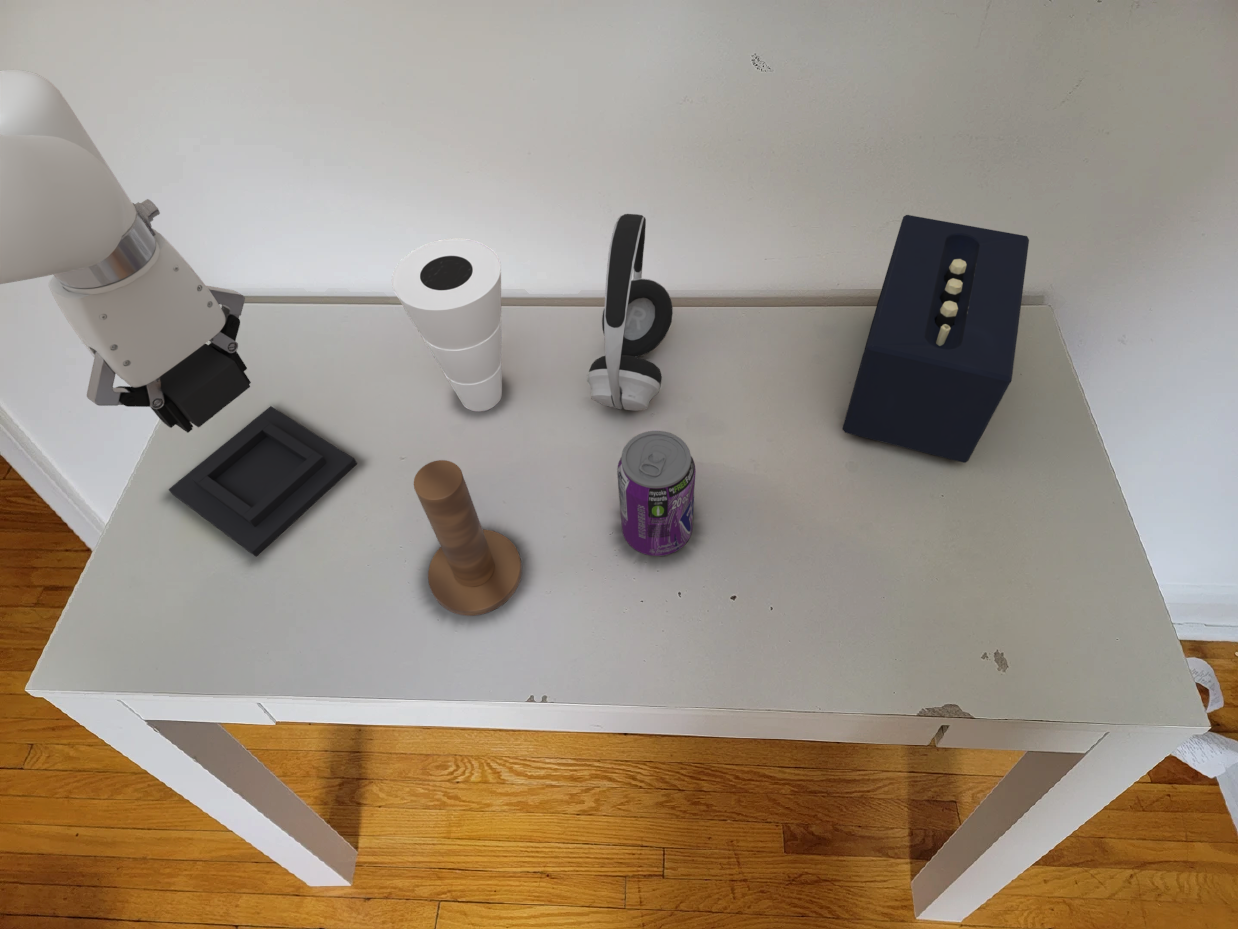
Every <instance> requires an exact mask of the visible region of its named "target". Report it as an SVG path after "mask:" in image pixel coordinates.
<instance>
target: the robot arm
mask: <svg viewBox="0 0 1238 929" xmlns="http://www.w3.org/2000/svg"><path fill="white" fill-rule="evenodd" d="M160 214H161V212H160V210H159V208H158V206H156V204H155V203H154V202H153V201H152V200H150V199H149V198H146V199H145V200H143V201H142V202H139V201H138V202H136V203H134V202H132V200H131V198H130V197H129V196H128V194H127V192H126V191H125V189H124V188H123V186H122V185H121V183H120V181H119V180H118V178H117V177H116V175H115V173H114V172H113V170H112V168H110V166H109V165H108V163H107V162H106V160H105V158H104V157H103V155H102V153H101V152H100V150H99V149H98V147H97V146H96V144H95V143H94V141H93V140H92V138H91V137H90V135H89V133H88V132H87V130H86V128H85V127H84V126H83V124H82V122H81V121H80V119H79V118H78V116H77V114H76V113H75V111H74V110H73V109H72V107H71V105H70V104H69V102H68V101H67V99H66V98H65V96H63V94H62V93H61V91H60V90H59V89H58V88H57V87H56V86H55V85H54V83H52V82H51V81H50V80H49V79H48V78H46V77H44V76H42V75H40V74H38V73H35V72H33V71H29V70H24V69H3V70H0V285H3V284H4V285H5V284H10V283H15V282H22V281H27V280H33V279H38V278H42V277H48V276H52V277H51V278H50V279H49V281H48V288H49V291H50V293H51V294H52V296H53V298H54V300H55V302H56V304H57V306H58V307H59V310H60V311H61V313H62V314H63V316H64V317H65V319H66V320H67V322H68V323H69V325H70V327H71V328H72V329H73V331H74V332H75V334H76V335H77V337H78V338H79V339H80V341H81V342H82V344H83V345H84V346H85V348H86V349H87V351H88V352H89V353H90V354H91V356H92V357H93V361H92V367H91V372H90V377H89V382H88V386H87V391H86V398H87V399H88V400H90V401H91V402H92V403H94V404H95V405H96V406H99V407H103V406H104V407H106V406H107V407H114V406H115V407H117V406H125V407H127V408H128V407H129V408H130V407H133V408H135V407H136V408H137V407H139V408H140V407H141V408H150V409H151V410H152V412H153V413H154V414H155V415H156V416H157V417H158V419H160V421H161V422H162V423H163V424H164V425H166V426H167V427H169V428H170V429H172V428H173V427H174V426H177V427H178V428H180V429H181V430H183V431H184V432H186V433H190V432H191V431H193V428H194V424H192V423H191V422H189V421H188V420H187V419H186V417H185V416H184V415H183V413H182V412H181V411H180V410H179V408H178V407H177V406H176V405H175V403H174V402H173V401H172V400H170V399H169V398H167V397H166V396H164V395H163V390H162V385H161V380H160V376H161V375H163V374H164V373H166V372H167V371H168V370H170V369H171V368H173V367H174V366H175V365H177V364H178V363H179V362H181V361H182V360H184V359H185V358H186V357H188V356H189V355H190V354H192V353H193V352H194V351H196V350H197V349H198V348H200V347H201V346H203V345H204V344H207V343H208V342H210V343H209V344H208V345H209V346H210V347H212V348H214V349H215V350H217V351H218V352H220V353H222V354H223V355H225V356H227V357H228V358H230V359H231V360H233V361H234V362H235V363H236V365H237V366H238V368H239V369H240V371H241V372H242V374H243V376H244V377H245V379H246V380H247V382H248V383H249V385H251V384H252V381H251V380H250V378H249V377H248V375H247V374H246V372H245V371H246V370H248V367H247V365H246V364H245V362H244V361H243V359H242V357H241V356H240V354H239V353H238V349H239V343H238V342H237V337H238V333H239V329H240V326H241V320H240V317H241V315H242V313H243V310H244V305H245V303H246V302H245V301H246V297H245V296H244V295H243V294H241V293H239V292H238V291H237V290H234V289H229V288H222V287H217V286H211V285H206V284H205V283H204V281H203V280H202V278H201V277H200V276H199V275H198V273H197V272H196V271H195V270H194V269H193V267H192V266H191V265H190V264H189V262H188V261H187V260H186V259H185V258H184V257H183V255H182V254H181V253H180V252H179V251H178V250H177V249H176V248H175V247H174V246H173V245H172V244H171V243H170V241H169V240H167V238H165V237H164V236H163V235H162V234H161V233H160V232H158V231H157V230H156V229H154V228H153V227H152V223H151V222H153V221H154V218H156V217H157V216H159V215H160ZM116 375H117V376H118V377H119V378H120V379H121V380H122V381H124V382H125V383H126V384H127V386H126V385H125V386H124V385H122V386H121V385H119V386H118V385H117V386H116V387H114V383H115V379H116Z"/></svg>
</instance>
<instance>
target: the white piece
mask: <svg viewBox="0 0 1238 929" xmlns="http://www.w3.org/2000/svg"><path fill="white" fill-rule="evenodd" d="M391 287H392V291H393V292H394V294H395V295H396V297H397V299H398V300H399V302H400V304H401V305H402V307H403V309H404V310H405V313H406V314H407V315H408V317H409V319H410V320H411V322H412V323H413V325H414V327H415V328H416V331H417V332H418V333H419V334H420V337H421V338H422V340H423V342H424V343H425V345H426V346H427V348H428V350H429V351H430V352H431V354H432V356H433V358H434V359H435V361H436V363H437V364H438V366H439V367H440V369H441V370H442V372H443V374H444V376H445V378H446V379H447V381H448V383H449V384H450V386H451V387H452V389H453V392H455V394H456V396H457V398H458V399H459V401H460V403H461V404H462V405H463V407H464V408H466V409H467V410H469V411H473V412H485V411H488V410H491V409H493V408H495V407H496V406H497V405H498V404H499V403H500V401H501V400H502V397H503V371H502V370H503V364H502V363H503V361H502V360H503V359H502V264H501V260H500V258H499V255H498V254H497V253H496V252H495V250H493V249H492V248H491V247H490V246H488V245H486V244H485V243H482V242H481V241H478V240H474V239H469V238H462V237H461V238H460V237H459V238H458V237H456V238H453V237H452V238H451V237H450V238H444V239H439V240H434V241H431V242H428V243H425V244H423V245H421V246H418V247H416V248H415V249H413V250H411V251H410V252H408V253H407V254H406V255H405V256H403V257H402V258H401V259H400V261H399V262H398V263H397V264H396V266H395V267H394V270H393V272H392V275H391Z"/></svg>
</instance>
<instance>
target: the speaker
mask: <svg viewBox="0 0 1238 929" xmlns="http://www.w3.org/2000/svg"><path fill="white" fill-rule="evenodd" d="M1029 244H1030V239H1029V236H1027V235H1023V234H1018V233H1012V232H1007V231H1001V230H995V229H990V228H984V227H978V226H973V225H967V224H961V223H955V222H950V221H945V220H938V219H933V218H927V217H923V216H922V217H921V216H918V215H917V216H916V215H911V214H905V215H904V216H903V217H902V219H901V223H900V226H899V229H898V233H897V237H896V239H895V243H894V246H893V249H892V253H891V256H890V259H889V262H888V266H887V270H886V273H885V277H884V280H883V282H882V287H881V290H880V293H879V297H878V300H877V304H876V307H875V311H874V314H873V318H872V321H871V325H870V328H869V332H868V336H867V339H866V343H865V346H864V350H863V354H862V357H861V361H860V363H859V368H858V371H857V375H856V378H855V382H854V385H853V388H852V392H851V396H850V400H849V404H848V406H847V410H846V414H845V417H844V421H843V424H842V431H843V432H844V433H845V434H850V435H854V436H857V437H861V438H865V439H869V440H873V441H877V442H882V443H885V444H889V445H893V446H897V447H900V448H905V449H908V450H913V451H916V452H920V453H925V454H928V455H932V456H936V457H941V458H944V459H948V460H952V461H956V462H960V463H964V464H966V463H967V462H969V460H970V458H971V457H972V455H973V453H974V451H975V450H976V447H977V445H978V443H979V442H980V440H981V438H982V436H983V434H984V432H985V430H987V427H988V426H989V423H990V421H991V419H992V417H993V415H994V413H995V412H996V410H997V409H998V406H999V404H1001V401H1002V399H1003V397H1004V396H1005V393H1006V392H1007V390H1008V388H1009V386H1010V384H1011V382H1012V381H1013V380H1012V379H1013V372H1014V364H1015V356H1016V348H1017V342H1018V341H1017V340H1018V333H1019V332H1018V331H1019V325H1020V324H1019V323H1020V316H1021V308H1022V302H1023V301H1022V299H1023V293H1024V292H1023V291H1024V284H1025V277H1026V276H1025V275H1026V268H1027V259H1028V252H1029Z"/></svg>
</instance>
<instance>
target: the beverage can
mask: <svg viewBox="0 0 1238 929" xmlns="http://www.w3.org/2000/svg"><path fill="white" fill-rule="evenodd" d="M616 470H617V471H616V472H617V473H616V475H617V487H618V499H619V510H620V511H619V512H620V525H621V533H622V536H623V538H624V539H625V541H626V543H627V544H628V545H629V546H630V547H631V548H632V549H634V550H635V551H637V552H639V553H641V554H644V555H647V556H651V557H662V556H667V555H671V554H673V553H676V552H677V551H679V550H681V549H682V548H683V547H684V546H685V545H686V544H687V543H688V541H690V538H691V536H692V533H693V528H694V527H693V526H694V507H695V490H696V473H697V472H696V465H695V460H694V458H693V456H692V454H691V451H690V448H689V446H688V444H687V443H686V442H685V441H684V440H683V439H682V438H681V437H679V436H677V435H676V434H674V433H671V432H668V431H665V430H649V431H643V432H641V433H639V434H637V435H635V436H633V437H632V438H631V439H630V440H628V442H626V444H625V446H624V447H623V449H622V452H621V456H620V458H619V461H618V463H617V469H616Z"/></svg>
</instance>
